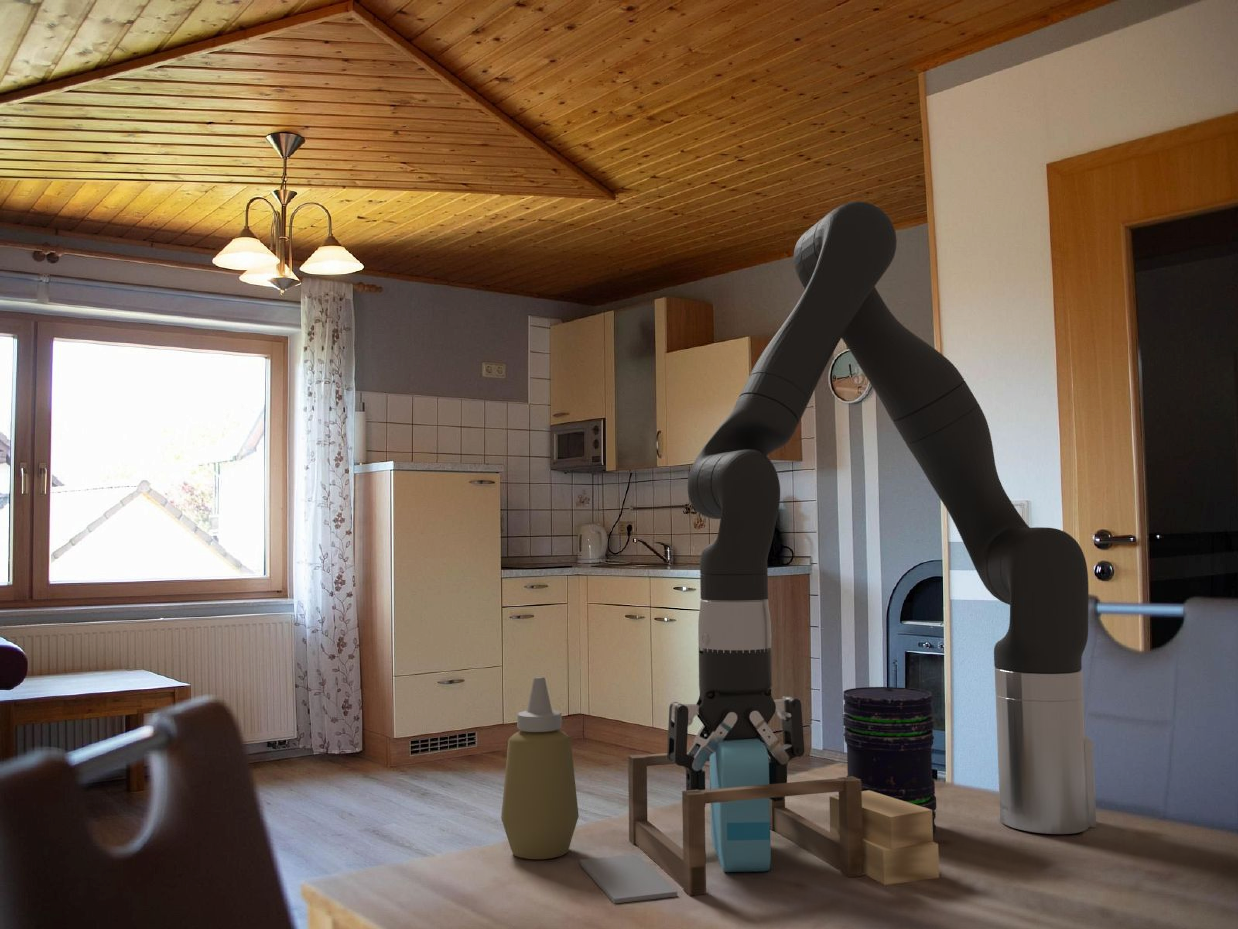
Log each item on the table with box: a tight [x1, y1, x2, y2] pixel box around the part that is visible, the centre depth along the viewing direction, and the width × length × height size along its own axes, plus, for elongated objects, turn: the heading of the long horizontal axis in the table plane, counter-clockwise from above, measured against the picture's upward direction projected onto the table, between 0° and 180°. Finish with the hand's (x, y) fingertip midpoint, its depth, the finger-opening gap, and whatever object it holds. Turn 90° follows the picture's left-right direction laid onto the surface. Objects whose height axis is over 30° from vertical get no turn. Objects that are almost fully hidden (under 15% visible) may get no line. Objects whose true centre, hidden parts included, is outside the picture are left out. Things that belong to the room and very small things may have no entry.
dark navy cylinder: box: [842, 686, 937, 837], centre depth 116 cm, size 10×10×15 cm
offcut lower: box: [829, 826, 940, 885], centre depth 102 cm, size 6×10×4 cm, turn 18°
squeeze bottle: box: [500, 676, 580, 860], centre depth 108 cm, size 8×8×18 cm
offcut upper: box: [828, 790, 934, 850], centre depth 102 cm, size 5×9×3 cm, turn 28°
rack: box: [627, 751, 865, 897], centre depth 106 cm, size 18×19×9 cm
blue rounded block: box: [709, 738, 772, 873], centre depth 106 cm, size 12×4×12 cm, turn 1°
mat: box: [579, 853, 678, 904], centre depth 99 cm, size 6×12×1 cm, turn 17°
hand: (737, 803), depth 106 cm, fingers open, 8 cm apart
